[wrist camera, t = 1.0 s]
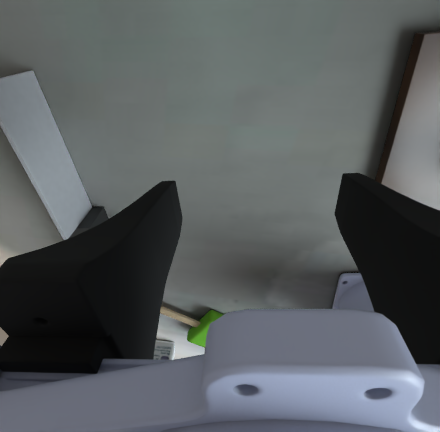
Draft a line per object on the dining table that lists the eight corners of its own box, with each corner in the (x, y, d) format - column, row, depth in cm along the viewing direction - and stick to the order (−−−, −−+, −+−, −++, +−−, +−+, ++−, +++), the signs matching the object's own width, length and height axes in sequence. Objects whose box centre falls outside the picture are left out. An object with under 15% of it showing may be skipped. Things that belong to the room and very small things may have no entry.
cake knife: (129, 269, 29) (113, 304, 25) (107, 269, 29) (88, 305, 26) (48, 68, 18) (-1, 81, 14) (14, 72, 18) (-42, 85, 15)
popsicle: (247, 351, 38) (248, 365, 36) (147, 312, 33) (143, 326, 32) (273, 334, 35) (274, 348, 33) (167, 288, 31) (163, 302, 29)
